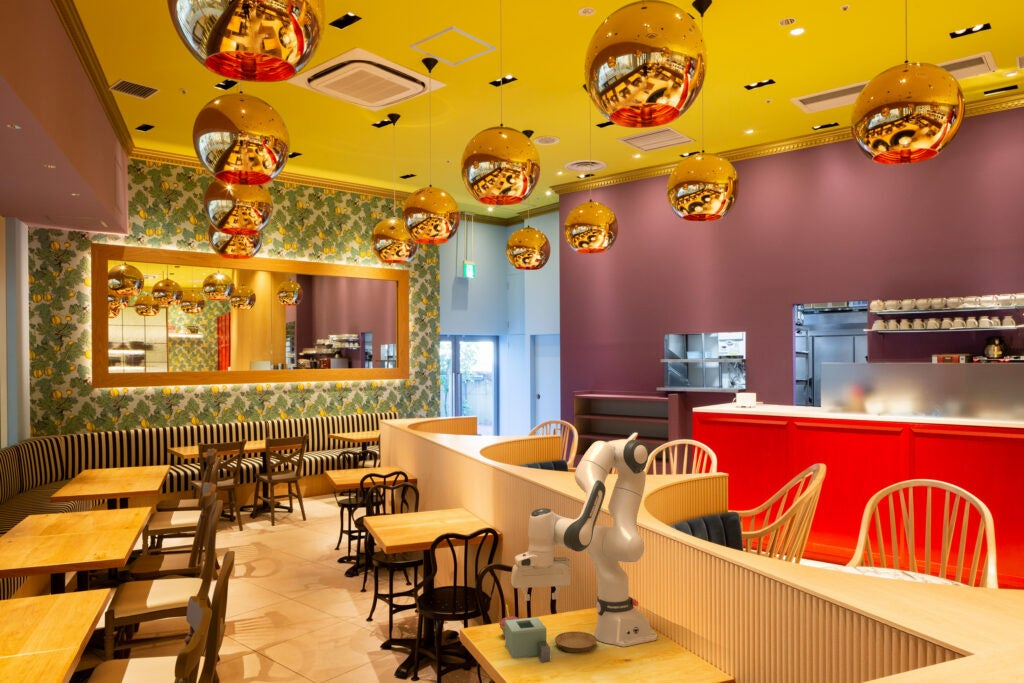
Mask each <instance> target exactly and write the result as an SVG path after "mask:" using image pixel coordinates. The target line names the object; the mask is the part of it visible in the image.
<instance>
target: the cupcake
mask: <svg viewBox="0 0 1024 683" xmlns="http://www.w3.org/2000/svg"><path fill="white" fill-rule="evenodd" d="M505 607H506V608H505V609H506V615H507V616H505V617H503V618H502V619H501V620H500V621H499V623H498V624H499V628H500V629H501V630H502V633H503V636H504V638H505V620H515V619H520V617H517V616H513V615H512V616H511V615H510V613H509V612H510V611H509V605H508V604H507V602H506V603H505Z"/></svg>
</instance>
